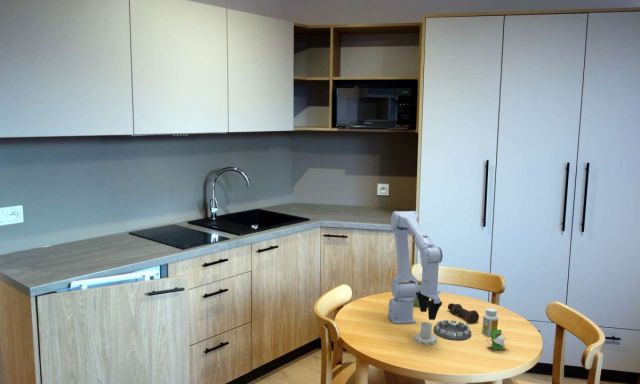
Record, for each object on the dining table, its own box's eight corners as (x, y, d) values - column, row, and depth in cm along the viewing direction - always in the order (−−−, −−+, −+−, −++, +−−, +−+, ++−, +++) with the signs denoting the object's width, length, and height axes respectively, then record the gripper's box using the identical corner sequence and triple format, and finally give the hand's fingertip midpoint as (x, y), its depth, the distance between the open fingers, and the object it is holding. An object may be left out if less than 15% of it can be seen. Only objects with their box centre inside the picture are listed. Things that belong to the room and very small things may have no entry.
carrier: (442, 341, 194) (443, 335, 194) (427, 326, 208) (428, 320, 208) (477, 339, 197) (478, 332, 197) (460, 324, 211) (460, 318, 211)
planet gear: (419, 345, 190) (420, 329, 189) (410, 336, 198) (411, 320, 197) (440, 344, 192) (441, 328, 191) (431, 334, 200) (432, 319, 199)
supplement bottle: (496, 332, 204) (498, 308, 203) (496, 337, 199) (498, 313, 198) (482, 330, 206) (484, 306, 205) (481, 335, 201) (483, 310, 200)
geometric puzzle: (480, 337, 194) (489, 325, 188) (495, 335, 196) (505, 324, 190) (488, 355, 189) (498, 344, 184) (504, 353, 191) (515, 342, 186)
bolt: (451, 314, 226) (474, 326, 213) (443, 310, 224) (466, 322, 211) (457, 302, 227) (481, 313, 213) (449, 297, 225) (473, 309, 211)
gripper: (448, 285, 186) (446, 322, 188) (431, 273, 200) (429, 307, 202) (430, 286, 184) (427, 323, 186) (414, 274, 198) (412, 308, 200)
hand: (427, 315), depth 194 cm, fingers open, 7 cm apart
